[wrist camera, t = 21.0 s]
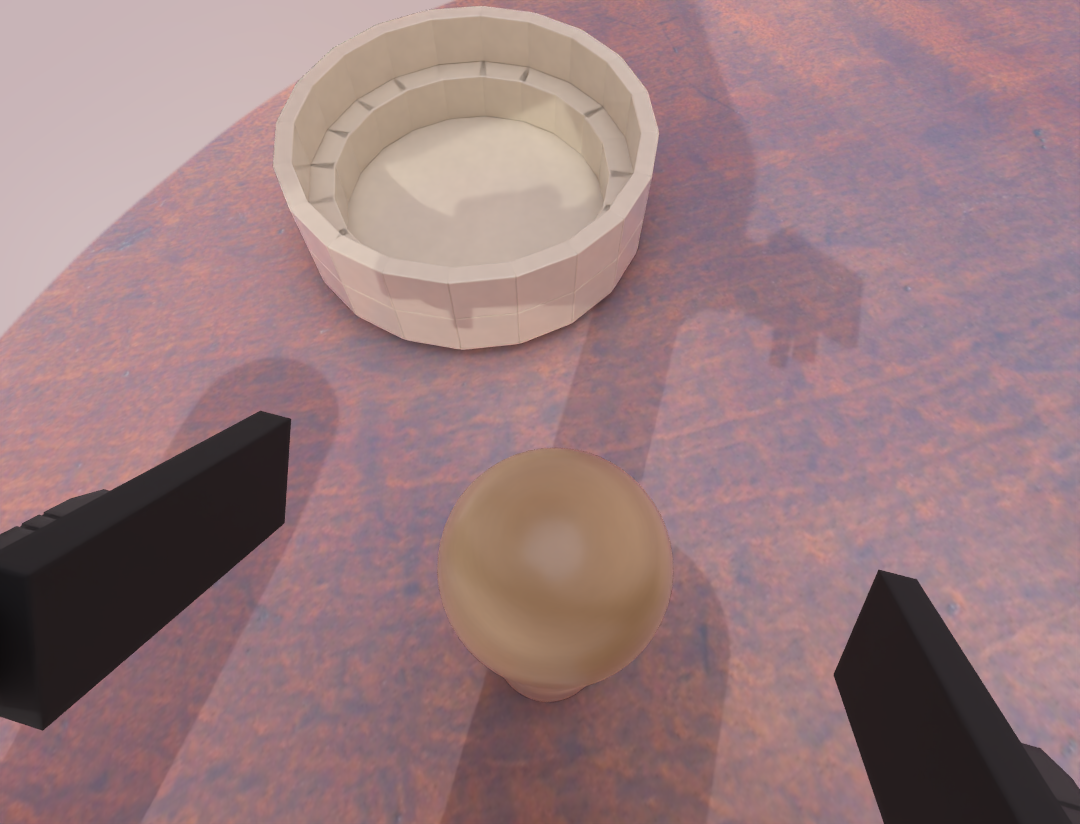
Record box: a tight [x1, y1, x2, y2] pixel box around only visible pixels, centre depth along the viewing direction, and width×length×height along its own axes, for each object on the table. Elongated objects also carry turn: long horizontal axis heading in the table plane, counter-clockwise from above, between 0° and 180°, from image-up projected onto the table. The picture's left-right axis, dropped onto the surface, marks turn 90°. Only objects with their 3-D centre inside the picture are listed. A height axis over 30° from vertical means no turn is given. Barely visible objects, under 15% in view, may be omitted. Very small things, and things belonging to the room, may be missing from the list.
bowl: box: [273, 6, 659, 350], centre depth 31 cm, size 17×17×6 cm
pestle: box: [437, 448, 673, 702], centre depth 18 cm, size 5×5×15 cm
